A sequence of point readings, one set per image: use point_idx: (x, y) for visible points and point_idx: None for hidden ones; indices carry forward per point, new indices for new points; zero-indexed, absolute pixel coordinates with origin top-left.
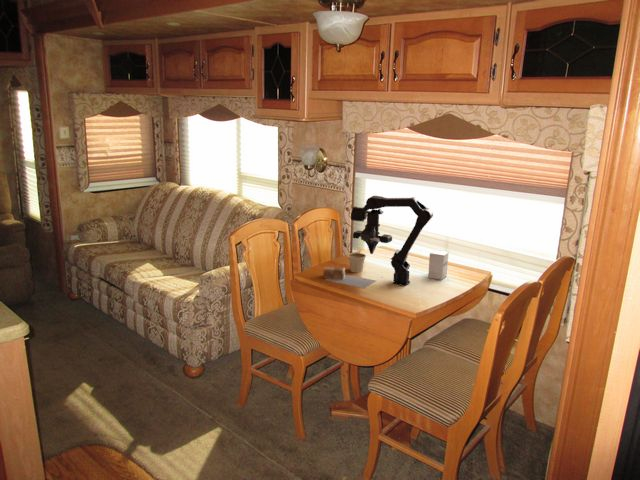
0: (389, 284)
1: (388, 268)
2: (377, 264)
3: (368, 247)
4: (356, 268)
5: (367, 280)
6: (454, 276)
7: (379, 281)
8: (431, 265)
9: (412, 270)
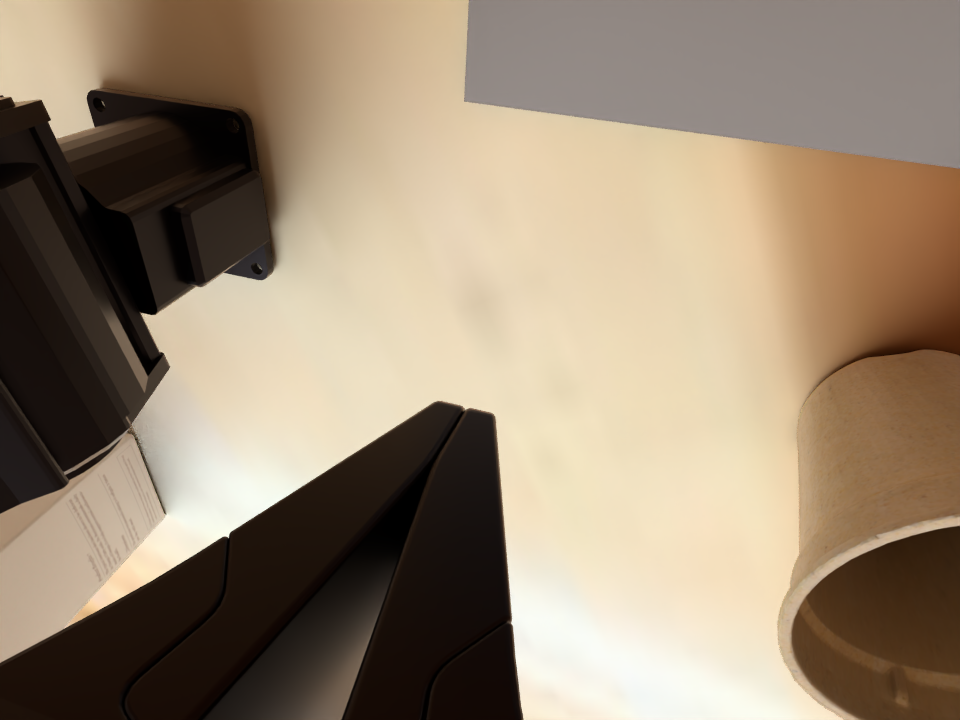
0: (268, 61)
1: (526, 572)
2: (669, 651)
3: (499, 612)
4: (911, 388)
5: (606, 36)
6: None
7: (437, 125)
8: (11, 513)
9: None
